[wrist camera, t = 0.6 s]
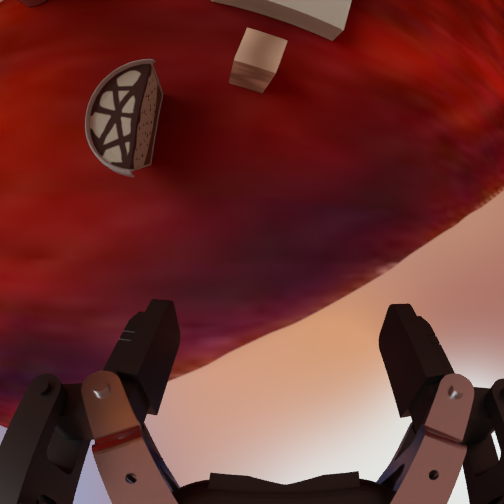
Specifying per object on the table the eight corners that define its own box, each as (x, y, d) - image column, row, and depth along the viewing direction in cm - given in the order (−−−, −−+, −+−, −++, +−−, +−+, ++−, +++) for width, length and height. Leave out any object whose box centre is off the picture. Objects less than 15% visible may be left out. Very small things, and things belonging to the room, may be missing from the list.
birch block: (228, 82, 33) (233, 60, 25) (239, 54, 32) (247, 27, 24) (262, 93, 34) (275, 73, 26) (272, 65, 33) (287, 40, 25)
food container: (120, 82, 31) (95, 55, 21) (165, 83, 32) (152, 54, 22) (104, 173, 33) (71, 173, 24) (149, 176, 35) (128, 177, 25)
